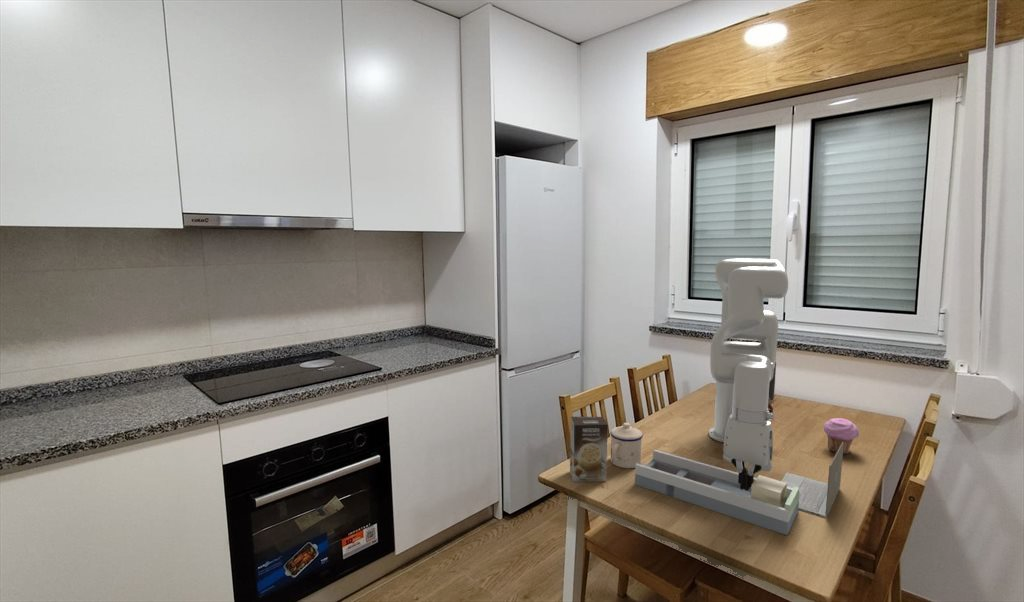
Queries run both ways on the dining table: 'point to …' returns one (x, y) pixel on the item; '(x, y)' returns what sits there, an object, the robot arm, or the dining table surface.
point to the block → (769, 491)
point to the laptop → (818, 488)
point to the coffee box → (588, 449)
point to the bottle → (772, 385)
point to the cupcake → (840, 433)
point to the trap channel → (714, 490)
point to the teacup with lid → (626, 446)
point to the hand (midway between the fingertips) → (745, 487)
